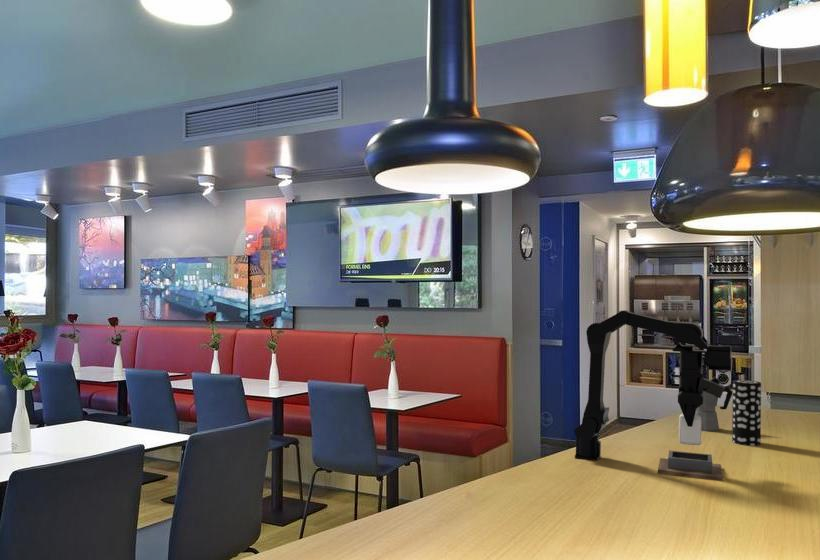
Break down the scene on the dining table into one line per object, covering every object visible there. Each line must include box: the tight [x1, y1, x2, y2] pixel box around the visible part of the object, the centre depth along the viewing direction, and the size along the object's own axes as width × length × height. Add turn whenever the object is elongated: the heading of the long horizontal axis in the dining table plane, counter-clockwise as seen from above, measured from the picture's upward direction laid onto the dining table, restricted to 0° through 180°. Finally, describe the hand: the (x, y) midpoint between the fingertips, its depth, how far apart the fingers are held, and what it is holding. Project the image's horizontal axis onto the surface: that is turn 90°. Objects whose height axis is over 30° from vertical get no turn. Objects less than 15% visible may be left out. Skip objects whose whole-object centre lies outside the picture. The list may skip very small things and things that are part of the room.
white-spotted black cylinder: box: [731, 379, 762, 447], centre depth 221 cm, size 8×8×20 cm
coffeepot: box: [695, 386, 733, 432], centre depth 243 cm, size 15×9×18 cm, turn 70°
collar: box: [667, 450, 713, 473], centre depth 185 cm, size 11×9×3 cm
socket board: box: [657, 457, 724, 482], centre depth 185 cm, size 16×14×1 cm
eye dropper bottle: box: [678, 413, 702, 446], centre depth 185 cm, size 4×6×12 cm
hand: (689, 425), depth 185 cm, fingers closed on eye dropper bottle, 3 cm apart
